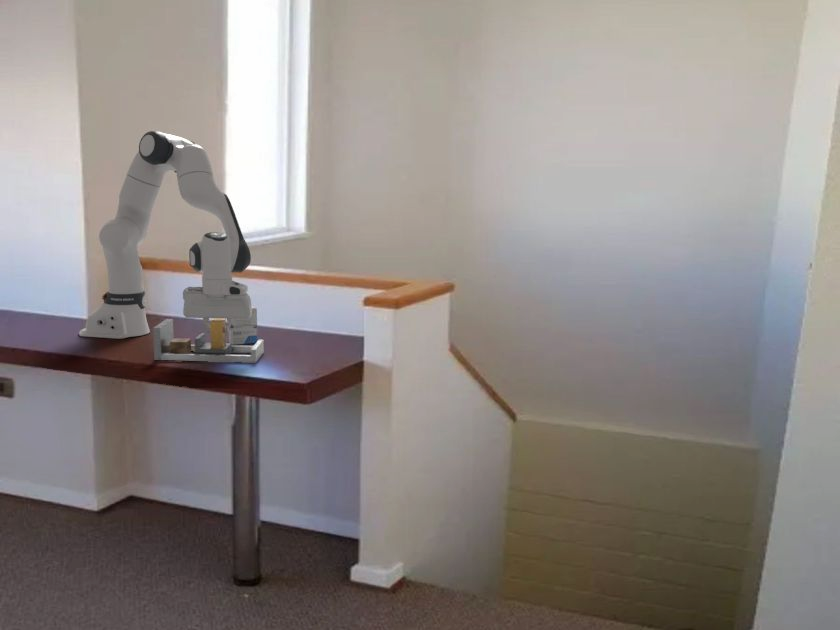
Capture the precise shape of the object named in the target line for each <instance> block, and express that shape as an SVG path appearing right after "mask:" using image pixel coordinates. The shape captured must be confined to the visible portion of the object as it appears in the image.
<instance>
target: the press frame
mask: <svg viewBox="0 0 840 630" xmlns="http://www.w3.org/2000/svg"><path fill="white" fill-rule="evenodd" d="M152 331H153V332H152V334H153V352H154V353H153V355H154V357H153V358H154V360H185V361H187V360H188V361H208V362H207V363H235V362H242V363H244V364H257V362H258V360H260V358H261V357H262V355H263V354H264V352H265V345H264V342H265V341H264V339H257V342H256V343H254V344H253V345H244V344H235V345H232V353H233V354H232V353H231V354H230V355H222V354H195V344H191V351H193V352H192V353H191V354H169V353H170V341H172V340H173V339H174V338H175V336H174V335H175V334H174V319H173V318H165V319H164V320H162V321H161V322H159V323H158V324H157V325H155V326H153V328H152ZM234 353H235V354H234ZM237 353H238V354H237ZM242 363H241V364H242Z"/></svg>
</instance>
